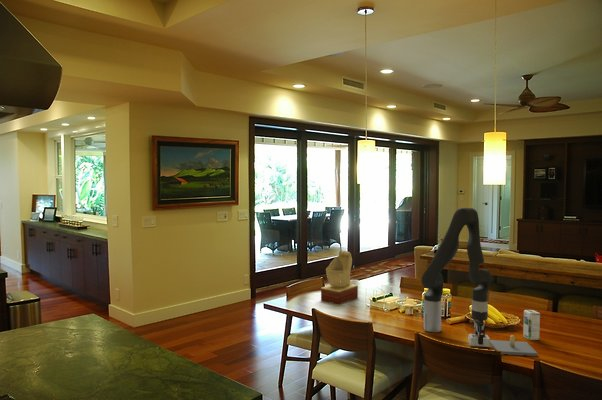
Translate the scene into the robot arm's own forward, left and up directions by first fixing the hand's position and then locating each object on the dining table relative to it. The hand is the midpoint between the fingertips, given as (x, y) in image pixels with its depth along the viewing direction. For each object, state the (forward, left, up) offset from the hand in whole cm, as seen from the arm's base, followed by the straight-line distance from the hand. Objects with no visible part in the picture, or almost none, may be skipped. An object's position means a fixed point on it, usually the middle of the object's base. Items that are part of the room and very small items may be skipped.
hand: (479, 341), depth 216 cm
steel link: (0, 0, -1) cm, 1 cm away
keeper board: (+15, -1, -3) cm, 16 cm away
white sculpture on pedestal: (-76, +83, -3) cm, 112 cm away
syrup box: (+30, +17, -3) cm, 35 cm away
